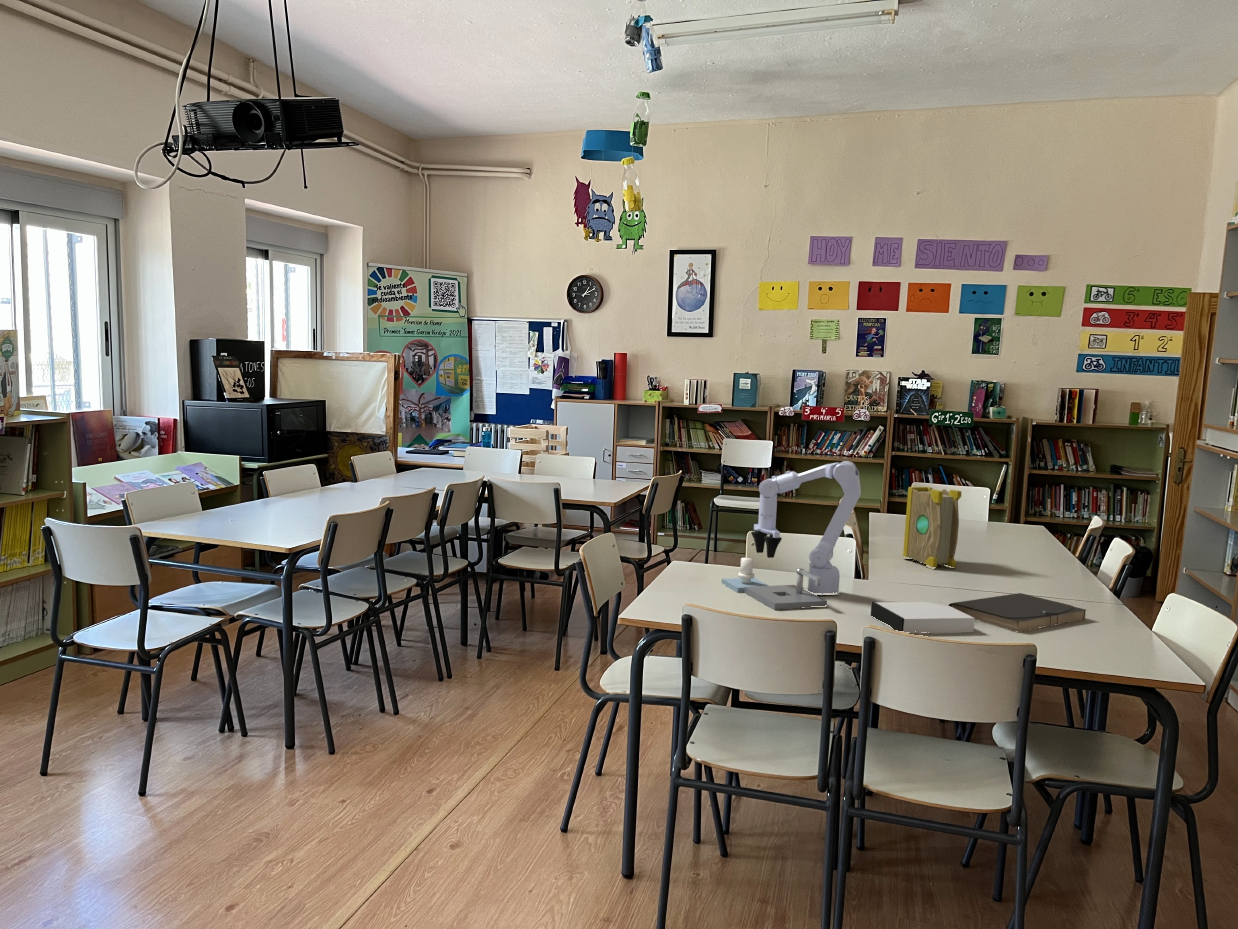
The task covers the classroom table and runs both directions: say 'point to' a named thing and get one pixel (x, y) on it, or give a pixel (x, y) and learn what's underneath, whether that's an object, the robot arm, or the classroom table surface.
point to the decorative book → (931, 525)
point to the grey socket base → (785, 595)
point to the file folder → (1019, 611)
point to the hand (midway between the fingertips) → (765, 555)
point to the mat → (741, 584)
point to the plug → (746, 570)
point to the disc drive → (922, 617)
